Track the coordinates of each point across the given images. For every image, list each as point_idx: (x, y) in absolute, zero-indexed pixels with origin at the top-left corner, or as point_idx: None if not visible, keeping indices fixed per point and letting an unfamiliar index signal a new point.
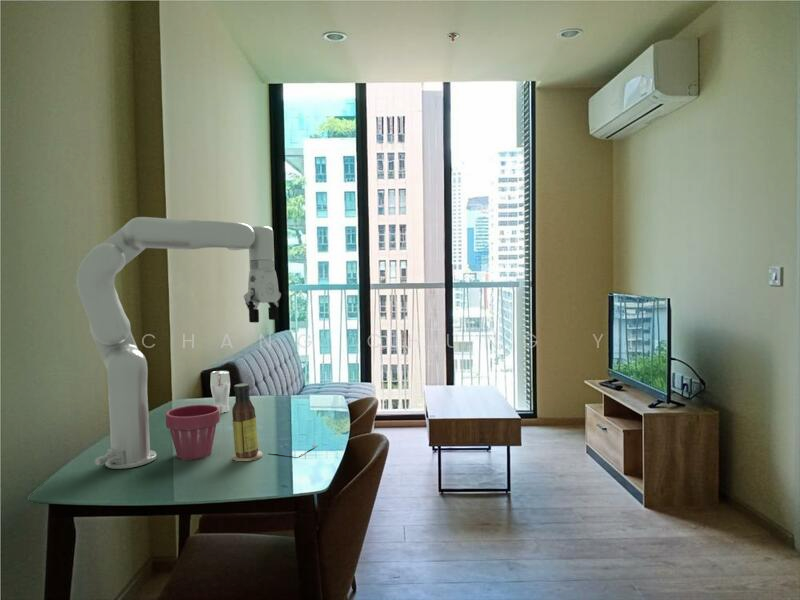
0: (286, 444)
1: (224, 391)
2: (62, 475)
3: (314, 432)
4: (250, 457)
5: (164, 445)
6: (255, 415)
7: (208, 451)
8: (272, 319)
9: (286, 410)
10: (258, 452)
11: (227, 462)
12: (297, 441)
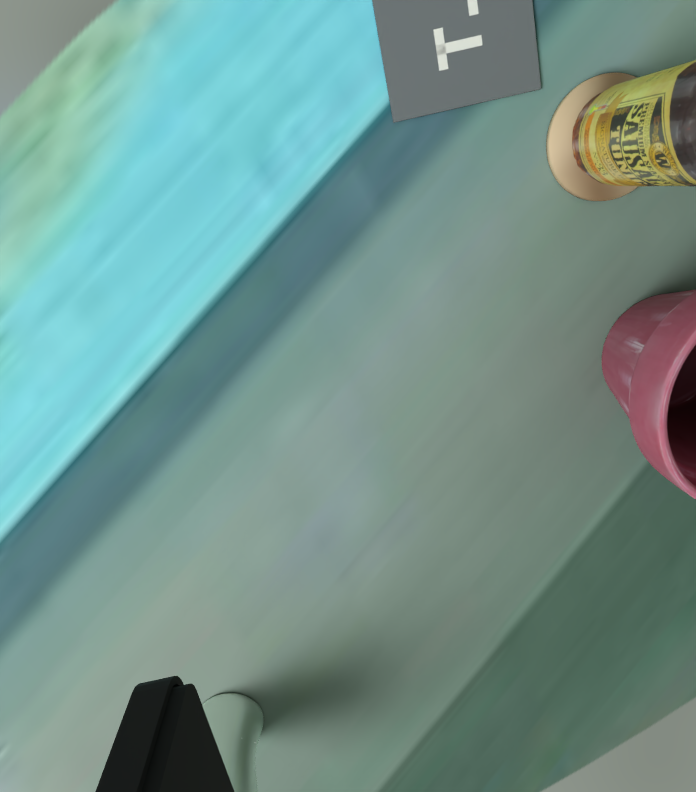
0: (415, 110)
1: None
2: None
3: (210, 135)
4: None
5: (624, 529)
6: (676, 80)
7: (658, 296)
8: (209, 761)
9: (43, 525)
10: (566, 120)
11: None
12: (352, 104)
